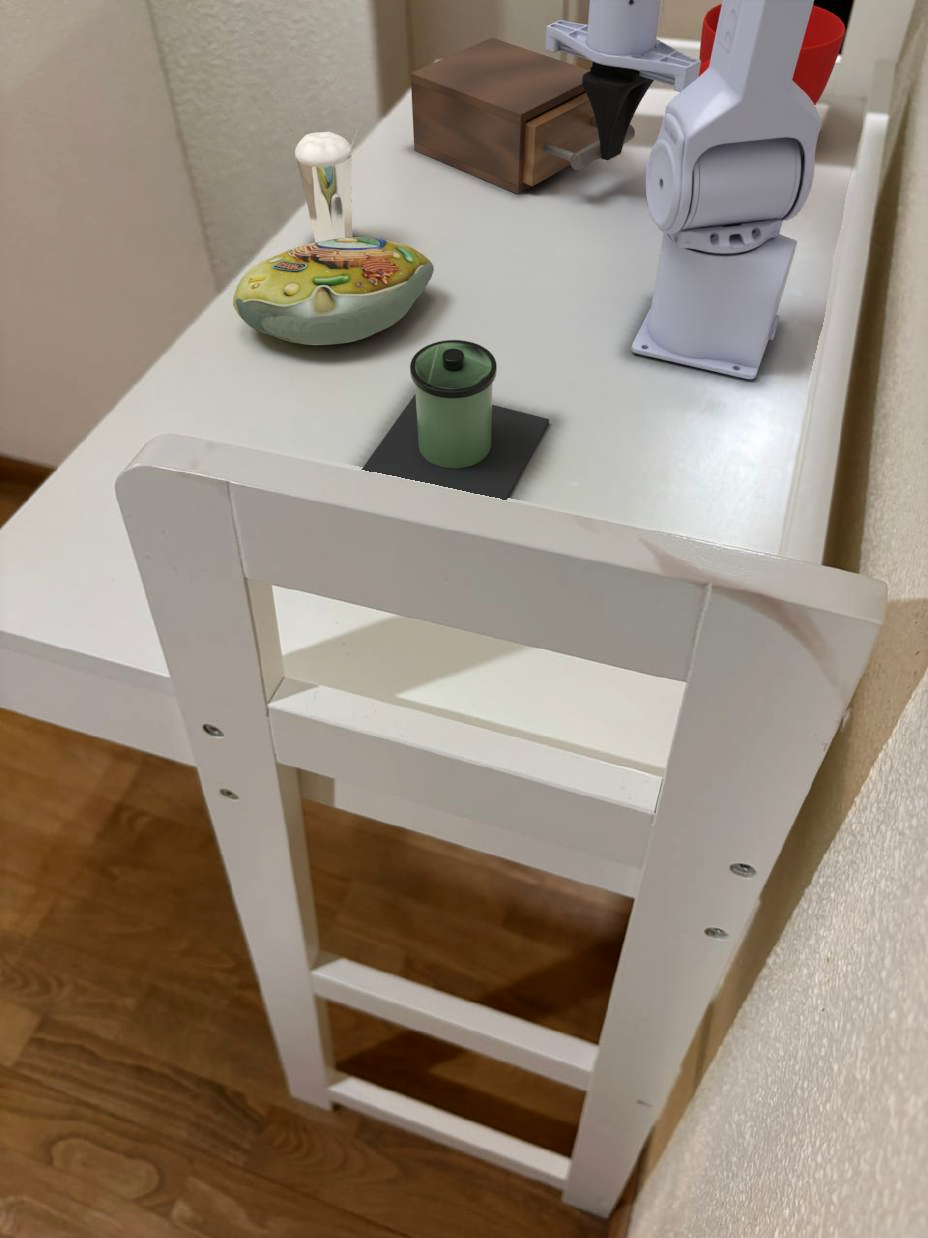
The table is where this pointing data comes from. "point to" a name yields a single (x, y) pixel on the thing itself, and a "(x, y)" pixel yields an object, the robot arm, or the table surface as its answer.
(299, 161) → the milkshake
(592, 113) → the drawer
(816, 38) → the ceramic cup
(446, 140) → the cabinet
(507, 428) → the mat
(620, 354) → the table surface
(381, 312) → the cell model
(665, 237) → the robot arm
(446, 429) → the pot
